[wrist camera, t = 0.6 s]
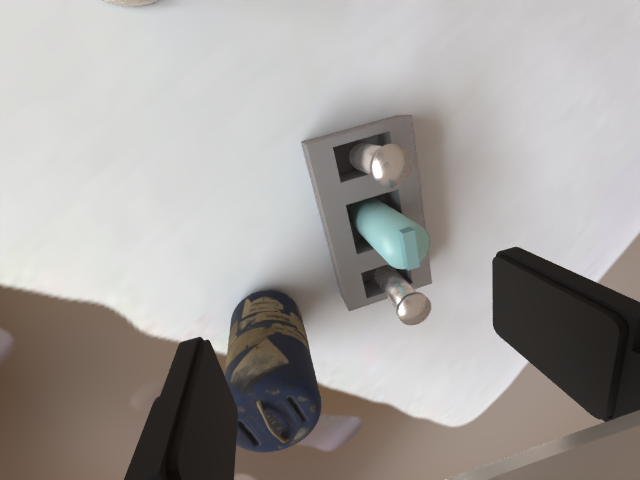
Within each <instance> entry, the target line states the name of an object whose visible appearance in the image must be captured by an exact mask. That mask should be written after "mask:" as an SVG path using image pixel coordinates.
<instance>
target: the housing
mask: <svg viewBox="0 0 640 480" xmlns="http://www.w3.org/2000/svg"><path fill="white" fill-rule="evenodd" d="M374 135H378V141H379V146H384V145H387V144H398V145H402V146H404V147H405V148H406V149H407V150H408V151H409V152H410V154H411V156H412V160H413V166H412V171H411V173H410V175H409V177H408V178H407V180H406V181H405V182H404V183H402V184H401V185H399V186H397V187H392V188H389V187H384V186H382V185H380V184H378V183H377V182H376V181H375V180H374V179H373V177H372V176H371V175H369V174H367V173H365V172H363V171H360V170H355V171H351V172H348V173H345V174H341V175H339V173H338V168H337V164H336V159H335V155H334V150H333V147H336V146H339V145H343V144H346V143H350V142H353V141H357V140H360V139H364V138H367V137H371V136H374ZM301 143H302V147H303V151H304V155H305V159H306V163H307V166H308V170H309V174H310V178H311V182H312V185H313V189H314V193H315V197H316V201H317V205H318V208H319V212H320V216H321V220H322V224H323V228H324V231H325V235H326V239H327V243H328V247H329V251H330V254H331V258H332V262H333V266H334V270H335V274H336V277H337V281H338V285H339V289H340V293H341V296H342V298H343V300H344V302H345V304H346V306H347V308H348V310H349V311H351V310H354V309H357V308H360V307H363V306H366V305H369V304H372V303H375V302H378V301H381V300H384V299H387V298H388V297H387V296H386V295H385V293H384V292H383V291H382V289H381V288H380V287H379V285H378V284H377V283H376V281H375V280H374V279H372V280H369V281H366V282H363V280H362V275H361V273H363V272H366V271H369V270H372V269H375V268H378V267H381V266H384V265H387V264H389V263H388V262H387V261H386V260H385V259H384V258H383V257H382V256H381V255H380V254H379V253H378V252H377V251H376V250H375V249H374V248H373V247H372V246H371V245H370V244H369V242H368V241H367V240H366V239H365V238H363V239H360V240H357V241H354V240H353V235H352V231H351V226H350V222H349V217H348V213H347V208H346V205H348V204H351V203H355V202H358V201H361V200H364V199H368V198H371V197H374V196H378V195H381V194H384V193H387V195H388V201H389V207H391V208H393V209H394V210H396V211H397V212H399V213H401V214H402V215H404V216H405V217H407V218H409V219H410V220H412V221H413V222H415V223H417V224H418V225H420V226H421V227H423V228H424V229H425V223H424V215H423V206H422V198H421V190H420V182H419V174H418V166H417V157H416V149H415V141H414V133H413V125H412V117H411V115H400V116H393V117H389V118H386V119H382V120H379V121H375V122H372V123H368V124H365V125H361V126H357V127H354V128H350V129H347V130H343V131H340V132H336V133H333V134H329V135H325V136H322V137H318V138H315V139H311V140H308V141H304V142H301ZM419 265H420V267H418V268H415V269H412V270H409V271H408V270H407V269H400V271H397V272H398V273H399V274H400V275H401V276H402V277H403V278H404V279H405V280H406V282H407V283H408V284H409V285H410V286H411V287H412V288H413V289H417V288H420V287H422V286H425V285H428V284H431V283H432V280H431V272H430V263H429V255H428V251H427V254H426V255H425V257H424V258H423V259H422V260H421V262H419Z"/></svg>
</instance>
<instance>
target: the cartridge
mask: <svg viewBox="0 0 640 480" xmlns="http://www.w3.org/2000/svg"><path fill="white" fill-rule="evenodd" d="M349 220H350V223H351V224H352V226H353V227H354V228H355V229H356V230H357V231H358V232H359V233H360V234H361V235H362V236H363V237H364V238H365V239H366V240H367V241H368V242H369V244H370V245H371V246H372V247H373V248H374V249H375V250H376V251H377V252H378V253H379V254H380V255H381V256H382V257H383V258H384V259H385V260H386V261H387V262H388V263H389V264H390V265H391V266H392V267H394V268H397V269H407V270H408V271H409V270H412V269H415V268H418V267H420V265H419V262H421V260H422V259H423V258H424V257H425V255H426V254H427V251H428V249H429V236H428V234H427V232H426V230H425V229H424V228H423V227H421V226H420V225H418V224H417V223H415V222H413V221H412V220H410V219H409V218H407V217H405V216H404V215H402V214H401V213H399V212H397V211H396V210H394V209H393V208H391V207H389V206H388V205H386V204H385V203H383V202H381V201H380V200H378V199H377V198H375V197H371V198H368V199H364V200H361V201H358V202H355V203H353V204H352V206H351V208H350V210H349Z"/></svg>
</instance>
